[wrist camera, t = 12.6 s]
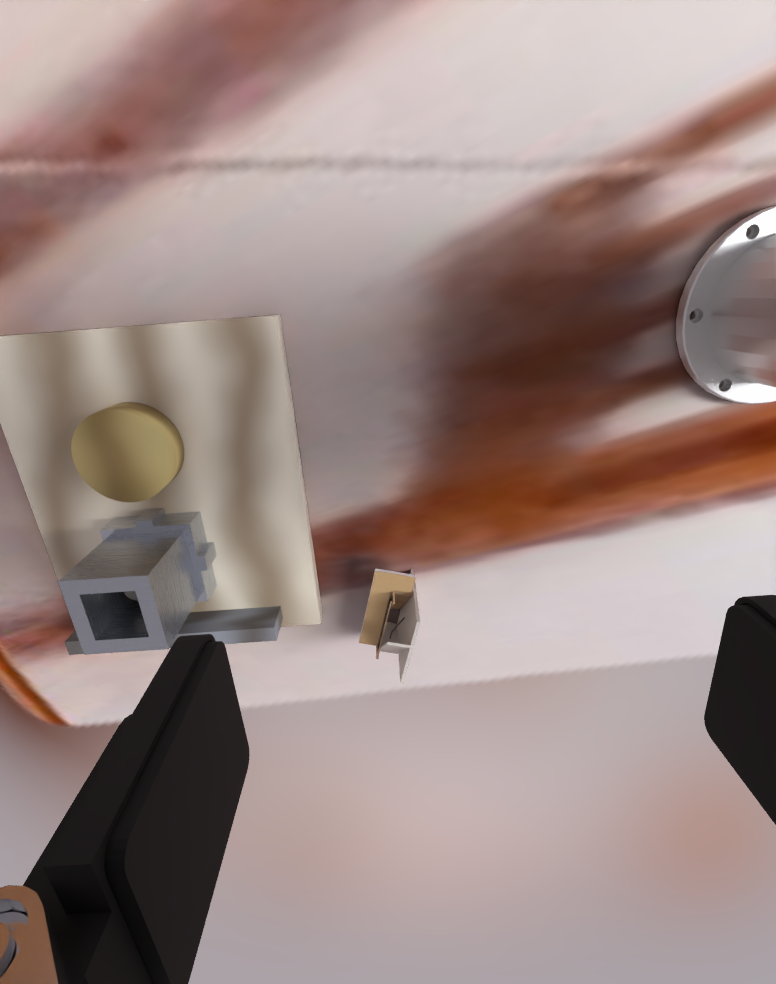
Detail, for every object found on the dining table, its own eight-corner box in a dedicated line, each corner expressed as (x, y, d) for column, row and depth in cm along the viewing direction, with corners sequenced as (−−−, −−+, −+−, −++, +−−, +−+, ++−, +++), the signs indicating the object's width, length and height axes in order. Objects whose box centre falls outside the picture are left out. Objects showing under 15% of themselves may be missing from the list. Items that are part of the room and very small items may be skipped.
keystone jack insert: (205, 504, 37) (160, 559, 29) (224, 589, 40) (187, 660, 32) (106, 511, 37) (35, 568, 29) (132, 596, 40) (73, 667, 32)
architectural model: (360, 617, 43) (356, 678, 36) (375, 547, 41) (375, 599, 34) (398, 623, 43) (402, 685, 37) (416, 554, 41) (424, 607, 34)
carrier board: (280, 314, 34) (258, 319, 27) (322, 613, 42) (313, 666, 36) (-14, 336, 34) (-100, 346, 28) (89, 629, 43) (41, 684, 37)
